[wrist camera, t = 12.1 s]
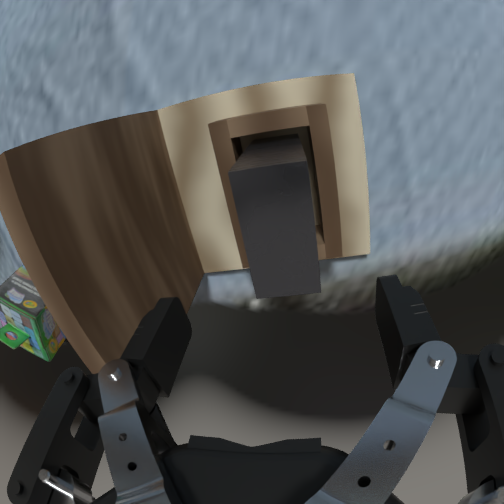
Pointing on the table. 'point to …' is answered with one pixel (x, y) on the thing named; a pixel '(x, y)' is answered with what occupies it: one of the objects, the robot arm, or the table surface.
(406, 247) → the table surface
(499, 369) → the robot arm
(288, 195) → the dark grey block
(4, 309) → the chalk box
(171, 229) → the post socket
